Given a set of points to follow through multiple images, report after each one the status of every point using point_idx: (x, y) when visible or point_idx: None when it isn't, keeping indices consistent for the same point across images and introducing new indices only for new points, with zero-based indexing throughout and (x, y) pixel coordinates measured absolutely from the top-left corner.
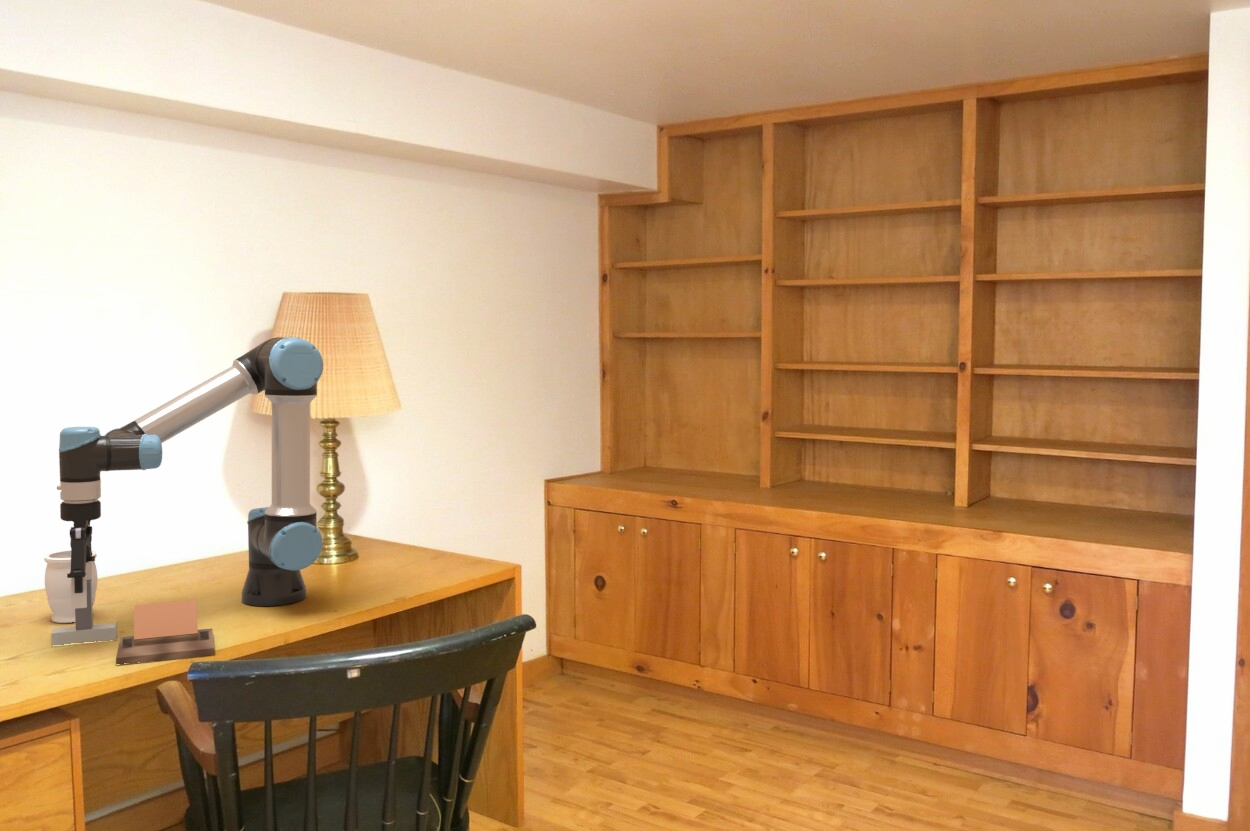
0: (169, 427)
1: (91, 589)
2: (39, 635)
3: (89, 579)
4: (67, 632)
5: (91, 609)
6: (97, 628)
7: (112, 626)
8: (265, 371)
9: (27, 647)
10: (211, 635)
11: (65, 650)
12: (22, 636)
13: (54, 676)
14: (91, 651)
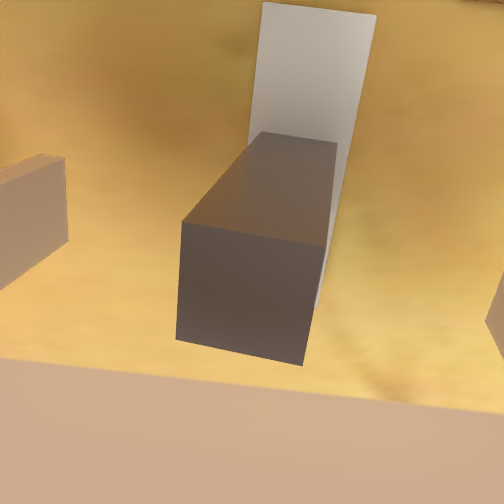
0: None
1: (243, 199)
2: (129, 296)
3: (3, 200)
4: (328, 248)
5: (317, 167)
6: (341, 114)
7: (342, 31)
8: None
9: None
10: None
11: (404, 240)
12: (121, 341)
13: None
14: (497, 145)
